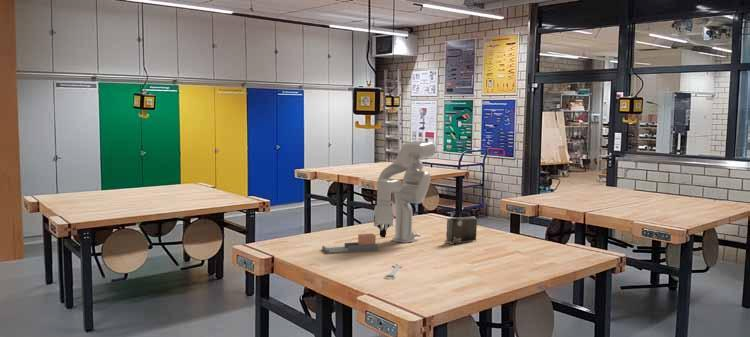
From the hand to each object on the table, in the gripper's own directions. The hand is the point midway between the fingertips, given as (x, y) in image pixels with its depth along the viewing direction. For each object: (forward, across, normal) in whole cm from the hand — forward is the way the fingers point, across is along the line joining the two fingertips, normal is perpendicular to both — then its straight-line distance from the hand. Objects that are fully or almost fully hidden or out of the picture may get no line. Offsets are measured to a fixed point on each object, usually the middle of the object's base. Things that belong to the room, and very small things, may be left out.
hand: (382, 237), depth 312 cm
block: (+5, +9, -1) cm, 10 cm away
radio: (+5, -49, -4) cm, 50 cm away
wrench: (+8, +11, +45) cm, 47 cm away
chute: (+6, +18, -1) cm, 19 cm away
